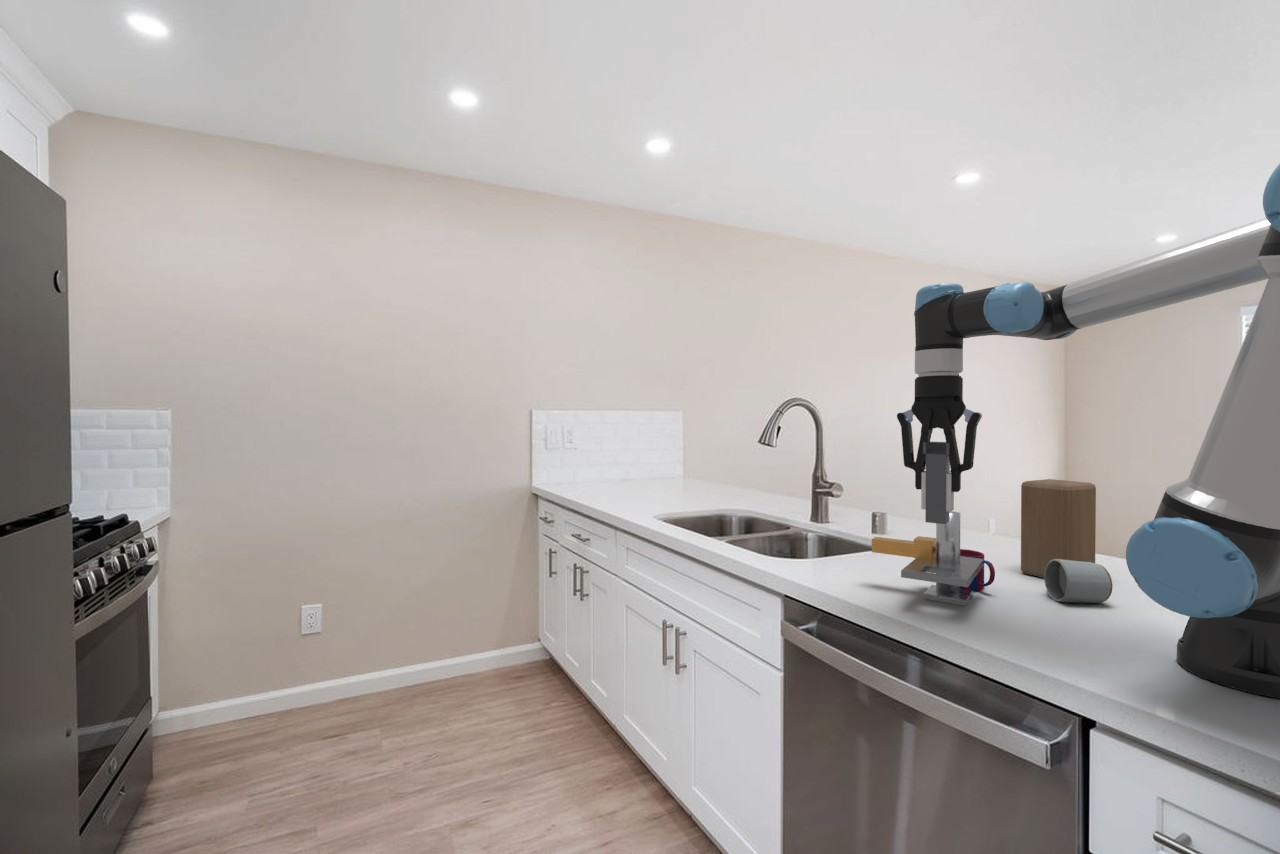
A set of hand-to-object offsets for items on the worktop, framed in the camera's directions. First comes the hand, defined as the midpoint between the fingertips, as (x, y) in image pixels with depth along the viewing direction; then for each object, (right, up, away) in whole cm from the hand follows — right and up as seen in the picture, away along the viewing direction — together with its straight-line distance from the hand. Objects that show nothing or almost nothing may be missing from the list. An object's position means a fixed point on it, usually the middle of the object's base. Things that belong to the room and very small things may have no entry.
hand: (937, 509), depth 105 cm
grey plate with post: (0, -18, +7) cm, 19 cm away
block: (+36, -17, +21) cm, 45 cm away
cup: (+13, -18, +13) cm, 25 cm away
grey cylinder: (+28, -18, +6) cm, 34 cm away
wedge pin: (0, -2, 0) cm, 2 cm away
